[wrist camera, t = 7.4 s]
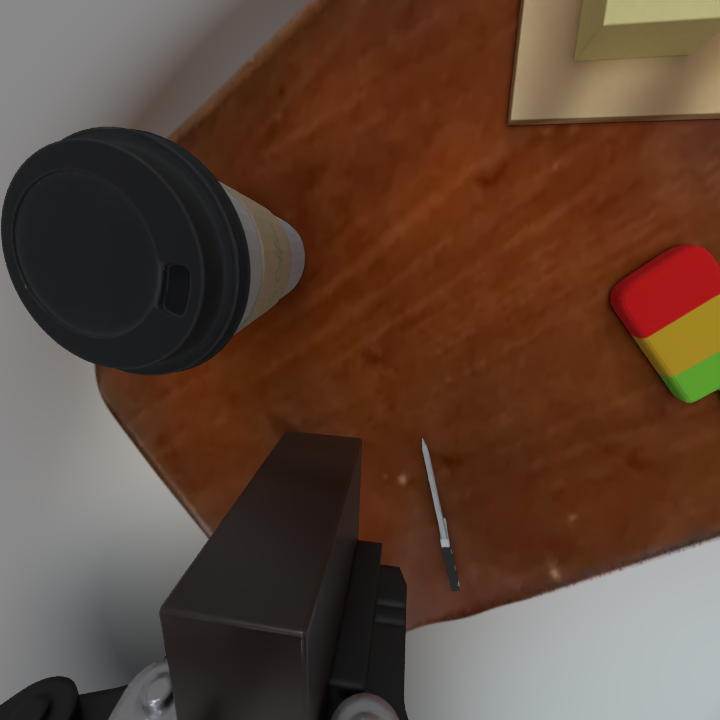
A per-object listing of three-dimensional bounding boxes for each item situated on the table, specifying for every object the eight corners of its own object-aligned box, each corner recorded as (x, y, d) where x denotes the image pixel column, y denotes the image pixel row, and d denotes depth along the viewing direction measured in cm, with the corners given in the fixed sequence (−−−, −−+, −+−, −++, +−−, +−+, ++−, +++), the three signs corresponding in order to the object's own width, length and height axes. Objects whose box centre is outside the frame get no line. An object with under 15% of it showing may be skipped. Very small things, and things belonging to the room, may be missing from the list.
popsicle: (682, 236, 23) (704, 234, 21) (798, 415, 25) (827, 428, 23) (598, 292, 25) (612, 295, 23) (713, 456, 26) (734, 471, 25)
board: (506, 125, 23) (510, 120, 22) (530, -87, 20) (535, -104, 19) (850, 114, 20) (871, 108, 19) (934, -131, 17) (964, -153, 16)
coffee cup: (339, 310, 27) (254, 375, 13) (225, 327, 29) (42, 400, 15) (314, 174, 25) (178, 73, 11) (191, 201, 27) (-65, 146, 13)
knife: (417, 428, 29) (417, 440, 27) (426, 427, 29) (427, 439, 27) (450, 576, 33) (452, 596, 31) (458, 575, 33) (460, 595, 31)
